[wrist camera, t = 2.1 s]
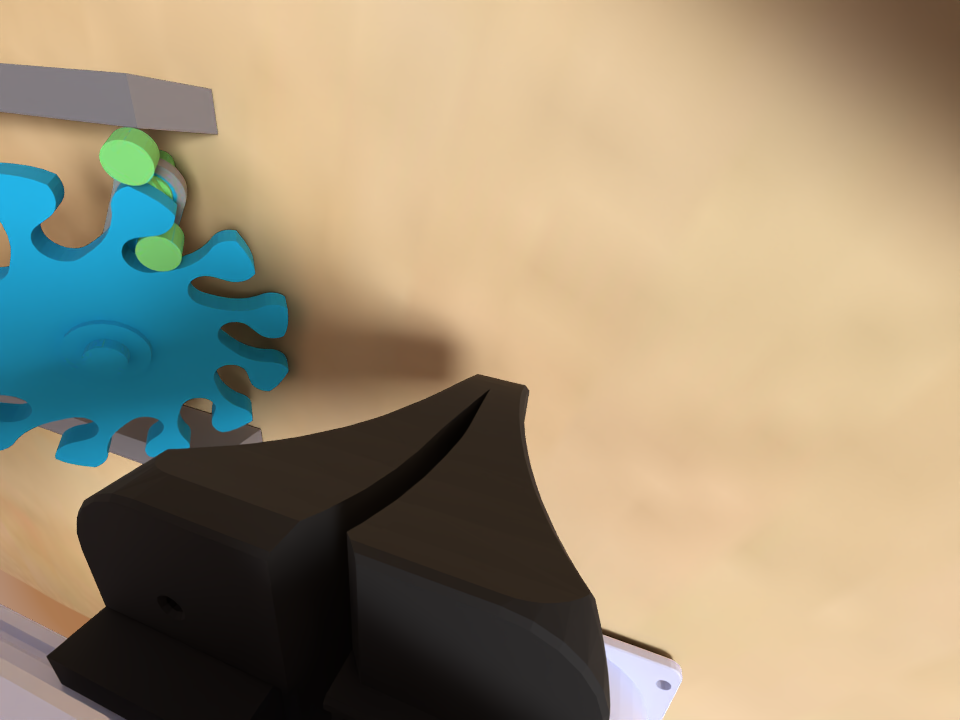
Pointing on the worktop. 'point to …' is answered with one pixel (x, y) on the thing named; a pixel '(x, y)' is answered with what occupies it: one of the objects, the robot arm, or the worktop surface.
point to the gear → (123, 312)
